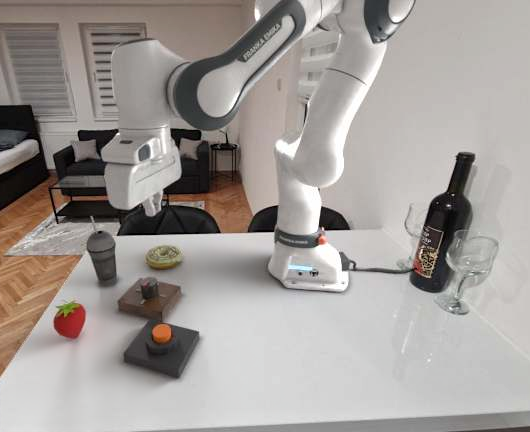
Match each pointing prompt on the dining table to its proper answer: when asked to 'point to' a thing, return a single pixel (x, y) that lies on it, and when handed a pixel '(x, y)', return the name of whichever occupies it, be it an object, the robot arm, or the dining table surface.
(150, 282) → the temp dial
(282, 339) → the dining table surface
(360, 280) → the dining table surface
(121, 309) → the panel
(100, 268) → the beverage cup
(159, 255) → the decorated donut
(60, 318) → the strawberry
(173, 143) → the robot arm
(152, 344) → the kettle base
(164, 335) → the orange button cap
